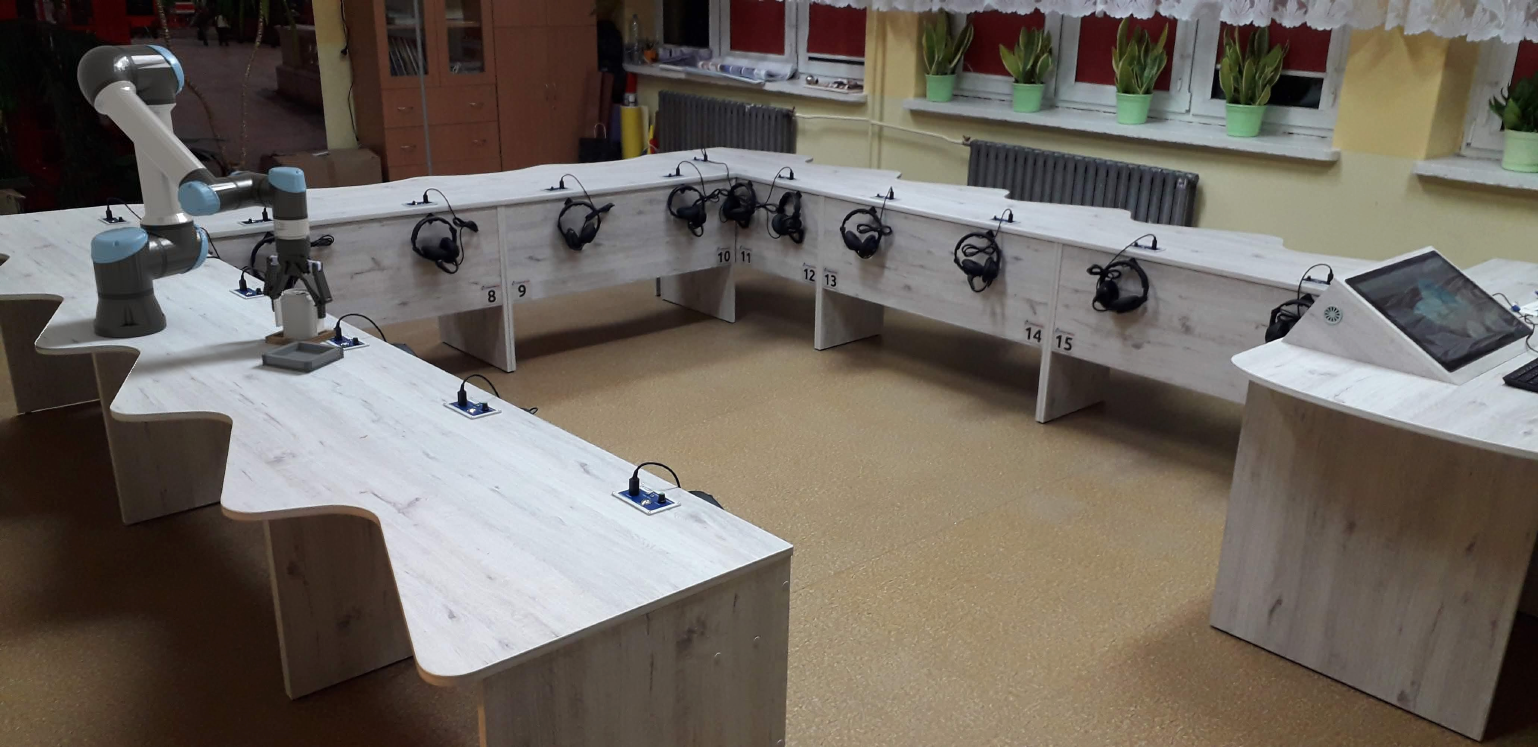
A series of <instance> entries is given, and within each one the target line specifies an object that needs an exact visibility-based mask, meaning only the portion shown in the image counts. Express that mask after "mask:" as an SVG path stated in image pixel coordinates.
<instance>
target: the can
mask: <svg viewBox="0 0 1538 747" xmlns="http://www.w3.org/2000/svg"><path fill="white" fill-rule="evenodd" d="M282 295H283V296H281V297H279V298H280V301H281V312H282V322H283V326H282V330H283V333H284V338H287V339H294V340H301V341H306V340H308V339H311V338H313V337H316V336H318V333H315V331H314V319H313V307H312V306H313V305H315V303H314V301H313V299H312V297H311V295H310V294H309V292H308V290H307V288H306V287H305V288H304V287H300V288H298V287H297V288H296V287H295V288H289V289H285V290H283V292H282Z"/></svg>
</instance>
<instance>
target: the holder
mask: <svg viewBox="0 0 1538 747" xmlns="http://www.w3.org/2000/svg"><path fill="white" fill-rule="evenodd" d="M336 333H337V331H336V329H329V328H325V330H324V331H321V332H319V333H318V336H316V337H313V338H311V339H308V340H306V341H307V342H313V343H320V344H322V343H324V342H326V341H328V340H331V339H333V338H335V336H336V337H337V334H336ZM264 340H265V343H266V344H272V345H277V346H282V347H283V346H285V345H288V344H290V343H293V342H295V341H298V340H294V339H287V338H284V333H283V329H282V330H279V331H276V332H274V333H271V334H268V335H265V337H264Z"/></svg>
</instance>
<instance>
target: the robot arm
mask: <svg viewBox="0 0 1538 747" xmlns="http://www.w3.org/2000/svg"><path fill="white" fill-rule="evenodd" d="M77 82H78V85H79V88H80V91H81V93H82V94H83V96H84V97H85V99H86V100H87V102H88V103H89V104H90V105H91V106H92V107H93V108H94V109H95V110H96V111H97V112H98V114H102V115H107V116H108V117H109V118H110V119H111V120H112V121H113V122H114V123H115V124H116V125H117V126H118V127H119V129H120V130H122V131H123V132H124V134H125V135H126V136H127V137H128V138H129V139H130V140H131V141H132V142H133V144H134V151H135V157H136V163H137V170H138V175H139V182H140V188H141V194H142V201H143V207H144V215H143V217H142V218H141V219H140V220H139V227H136V226H127V227H126V226H124V227H121V228H118V227H116V228H112V229H107V230H104V231H100V233H98V234H96V235H94V236H93V238H92V239H91V242H90V250H91V251H90V258H91V260H92V265H93V271H94V272H93V273H94V279H95V285H96V292H97V293H96V294H97V299H98V300H97V304H96V311H95V318H94V319H93V322H92V325H93V330H94V334H96V335H98V336H102V337H105V338H106V337H107V338H132V337H134V338H135V337H140V336H146V335H151V334H155V333H159V332H161V331H163V330H164V329H166V327H167V318H166V315H165V313H164V312H163V310H162V307H161V306H160V303H159V301H158V299H157V297H156V294H155V289H154V282H153V281H154V280H160V279H164V278H167V277H172V276H175V275H179V274H181V275H183V274H187V273H189V272H191V271H195V270H197V269H199V268H200V267H202V265H203V263H205V261H206V260H207V257H208V254H209V241H208V237H207V235H206V233H204V232H203V228H201V227H200V226H199V225H198V224H196V223H195V221H194V217H204V216H205V217H206V216H207V217H209V216H213V215H216V214H221V213H226V212H229V211H230V212H231V211H237V210H243V209H248V208H253V207H260V208H261V207H262V208H267V209H271V215H272V222H273V223H272V225H273V233H274V235H275V238H274V245H275V247H274V248H275V252H276V254H277V255H276V254H272V255H269V256H266V257H265V260H266V272H265V276H264V277H265V278H264V282H263V283H264V284H263V290H262V295H263V296H264V297H266V296H267V297H268V298H269V299H270V301H271V310H272V312H273V313H274V322H275V327H276V328H279V327H280V328H281V327H283V322H282V312H281V301H280V298H281V297H282V296H283V295H284V294H283V291H285V290H284V289H285V287H286V285H287V283H288V280H289V278H290V276H294V277H295V278H297V277H298V279H299V280H300V281H301V282H302V283H303V285H304V286H305V289H307V290H308V292H309V294H310V295H311V297H312V299H313V301H314V303H315V305H313V306H312V307H313V319H314V331H315V333H319V332H321V331H324V330H325V329H326V328H325V318H327V312H326V310H327V309H326V304H329V303H331V302H333V297H332V296H333V295H332V293H331V290H330V288H329V284H328V282H327V278H326V275H325V271H324V262H323V261H322V260H318V261H315V260H312V258H311V256H310V254H311V251H312V246H311V238H310V236H309V234H310V223H309V213H308V212H309V211H308V202H307V201H308V199H307V184H306V181H305V179H306V178H305V172H304V171H303V170H302V169H300V168H298V167H289V166H278V167H273V168H271V169H269V171H268V174H265V173H257V172H252V171H249V170H246V171H245V170H244V171H240V170H238V171H234V172H231V173H230V174H229V175H228V176H222V177H216V176H214V175H213V173H212V172H211V171H209V170H208V168H207V167H206V166H205V165H204V164H203V163H202V162H201V161H200V160H199V159H198V158H197V157H196V156H195V155H194V154H193V153H192V152H191V151H190V149H189V148H188V147H187V146H186V145H185V144H184V143H183V142H182V141H181V140H180V139H179V138H178V137H177V135H175V134H174V129H173V128H174V126H173V122H172V115H171V111H172V110H173V109H174V108H175V106H176V105H177V100H176V99H177V98H176V95H177V94H179V93H180V92H182V89H183V88H182V87H184V85H185V76H184V72H183V68H182V66H181V64H180V62H179V60H178V59H177V58H176V56H175V55H174V54H173V53H172V52H171V51H170V50H168V49H167V48H165V47H163V46H159V45H154V44H153V45H152V44H132V45H130V44H129V45H100V46H97V47H96V46H95V47H94V48H92V49H90V50H89V51H87V52H86V53H85V54H84V55H83V56H82V57H81V59H80V61H79V64H78V66H77ZM279 265H280V269H279Z"/></svg>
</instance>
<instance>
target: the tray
mask: <svg viewBox="0 0 1538 747" xmlns="http://www.w3.org/2000/svg"><path fill="white" fill-rule="evenodd" d="M344 358H345V353H344V346H338V345H333V344H326V343H325V344H324V343H313V342H307V341H301V340H298V341H295V342H293V343H290V344H288V345H285V346H283V345H282V346H281V347H278V348H274V349H273V350H270V351H268V352H265V353H263V354H261V359H262V366H263V367H271V368H275V369H276V368H277V369H283V370H289V371H293V372H294V371H295V372H301V373H307V374H311V373H313V372H315V371H317V370H319V369H321V368H324V367H326V366H329V365H331V364H333V363H335V362H337V361H340V360H341V359H344Z"/></svg>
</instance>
